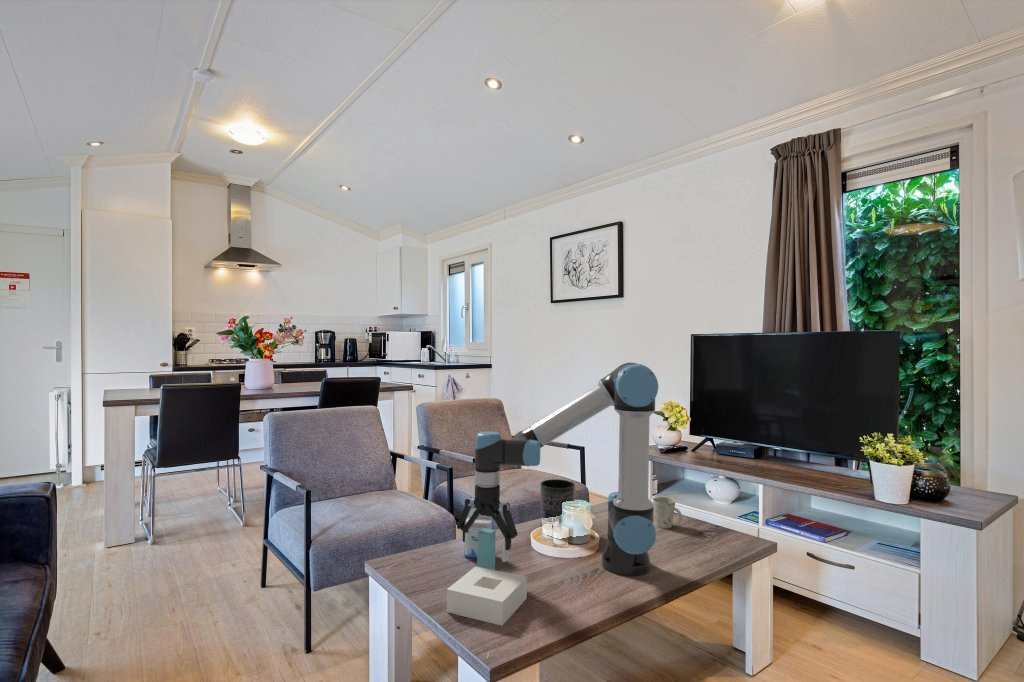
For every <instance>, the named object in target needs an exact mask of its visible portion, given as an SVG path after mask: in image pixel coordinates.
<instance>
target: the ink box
mask: <svg viewBox="0 0 1024 682" xmlns="http://www.w3.org/2000/svg"><path fill="white" fill-rule="evenodd" d="M475 510H476V507H474V508H472V507H471V509H470V512H469V514H468V517H467V519H466V522H465V524H466V523H467V522H468V520H469V519H470V518H471V516H472V515H473V513H474V512H475ZM465 524H464V525H465ZM483 528H487V529H493V518H492V517H488V516H486V515H484V516H482V515H481V514H480V515H479V516H478V517H477V519H476V520H475V522H474V523H473V524H472V526H471V527H470V529H468V531H469V530H472V533H471V552H470V553H469V554H467V555H466V554H465V550H464V553H463V554H464V556H463V557H464V558H472V559H474V558H476V559H477V542H478V532H479V531H480V530H481V529H483Z"/></svg>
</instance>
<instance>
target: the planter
mask: <svg viewBox="0 0 1024 682" xmlns="http://www.w3.org/2000/svg"><path fill="white" fill-rule="evenodd" d="M539 486H540V487H539V488H540V489H539V490H540V508H541V511H542V512H543V519H544V518H549V517H556V516H560V515H561V514H562V503H563V502H566V501H574V502H575V496H576V494H575V492H576V484H575V483H574V482H573V481H570V480H566V479H558V478H557V479H545V480H543V481H541V482H540V484H539Z"/></svg>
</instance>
